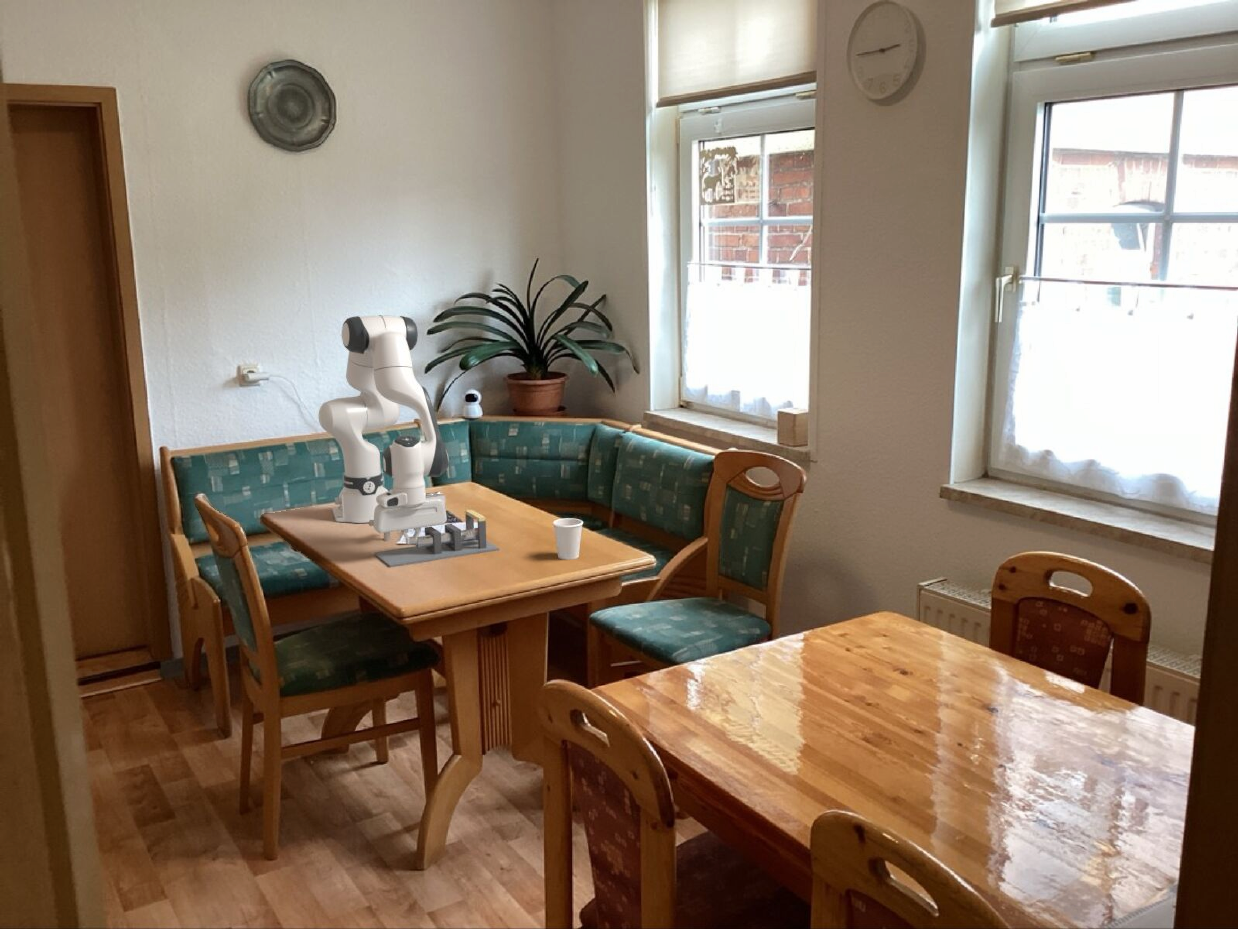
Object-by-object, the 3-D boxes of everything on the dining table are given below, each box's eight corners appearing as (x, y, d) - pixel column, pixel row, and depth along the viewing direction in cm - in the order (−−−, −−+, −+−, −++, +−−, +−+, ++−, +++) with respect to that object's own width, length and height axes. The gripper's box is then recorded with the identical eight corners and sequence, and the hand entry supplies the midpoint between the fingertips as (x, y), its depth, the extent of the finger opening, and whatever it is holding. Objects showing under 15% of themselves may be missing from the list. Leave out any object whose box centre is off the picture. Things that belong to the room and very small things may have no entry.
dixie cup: (563, 562, 292) (562, 527, 290) (548, 555, 299) (547, 520, 297) (589, 557, 297) (588, 522, 295) (573, 550, 304) (573, 516, 302)
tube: (415, 547, 301) (414, 535, 300) (480, 537, 311) (480, 525, 310) (419, 550, 298) (418, 538, 297) (485, 540, 308) (485, 528, 307)
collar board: (374, 554, 301) (372, 521, 299) (479, 538, 317) (478, 506, 315) (390, 567, 289) (388, 533, 287) (498, 549, 305) (498, 517, 303)
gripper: (441, 488, 303) (442, 535, 306) (370, 497, 293) (373, 546, 296) (449, 493, 298) (450, 541, 301) (377, 502, 288) (380, 551, 291)
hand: (411, 543), depth 299 cm, fingers closed
